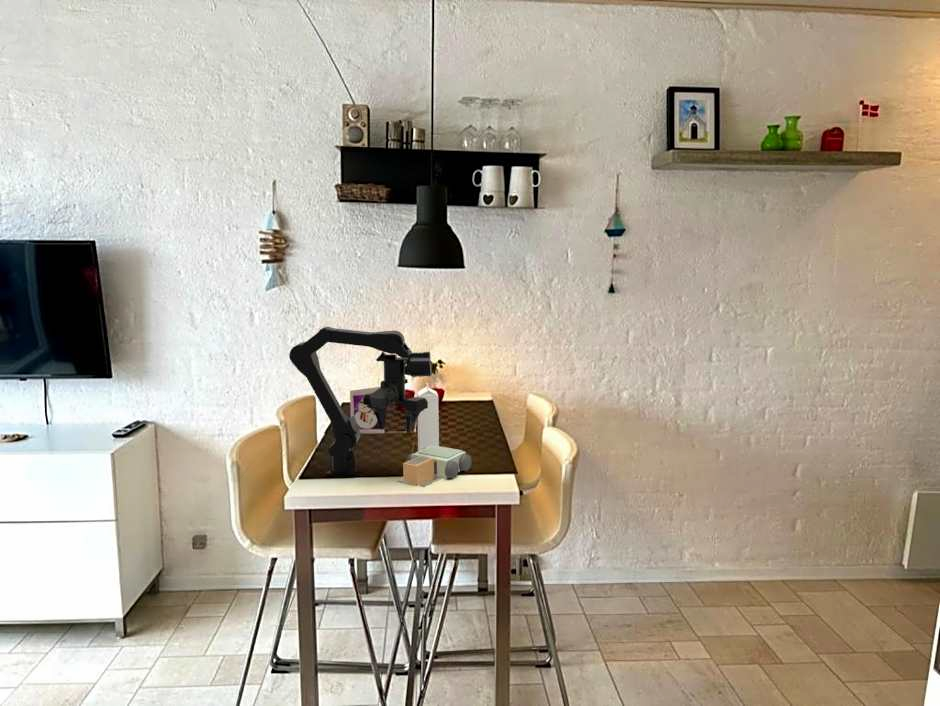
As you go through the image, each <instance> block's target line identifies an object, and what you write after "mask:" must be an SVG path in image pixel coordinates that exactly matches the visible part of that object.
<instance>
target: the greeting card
mask: <svg viewBox="0 0 940 706" xmlns="http://www.w3.org/2000/svg"><path fill="white" fill-rule="evenodd" d="M379 388H380V386H377V387H376V386H375V387H368V388H361V389H360V388H359V389H354V390H349V396H350V397H349V401H350V402H349V403H350V418H351V417H352V416H354V417H355V420H356V422H357V424H358V425H359V426H360V427H361V428H360V429H359V430H360V434H385V428H384V429H383V430H381V428H380V425H379V423H378V420H377V418H376V415H375V413H374V412H373V411H372V410H371V409H370V408H367V406H368V405H363V398H364V396H365V394H369V393H372V392H375V391H376V390H377V389H379Z"/></svg>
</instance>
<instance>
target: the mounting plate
mask: <svg viewBox="0 0 940 706" xmlns="http://www.w3.org/2000/svg"><path fill="white" fill-rule="evenodd" d="M440 478H441V479H443V478H442V476H437V475H434V476H433V477H431V478H429V479H426V480H424V481H422V482H420V483H418V484H415V485H414V486H417V485H419V486H418V487H422V486H423V488H426V487H427V486H429V485H431V484H433V483H435V482H436V480H437V481H439V480H440ZM438 479H439V480H438ZM396 480H397V482H398V481H401V482H400V483H403V482H405V481H403V476H402V477H400V478H398V479H396ZM434 481H435V482H434ZM432 482H433V483H432ZM408 483H409V482H406V483H405V484H408ZM430 483H431V484H430ZM412 484H414V483H409V485H412ZM426 485H427V486H426Z"/></svg>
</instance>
